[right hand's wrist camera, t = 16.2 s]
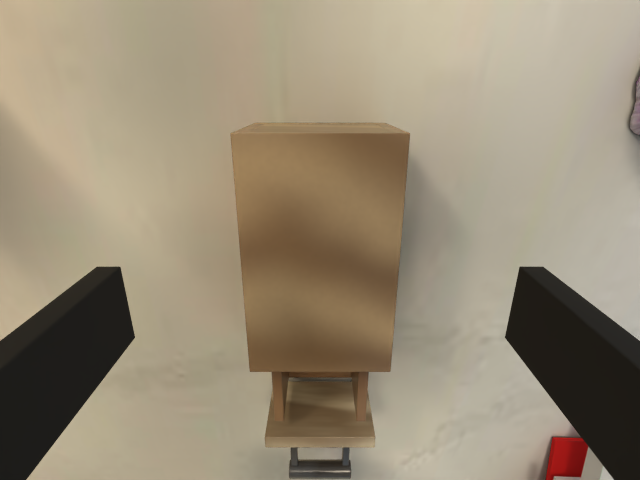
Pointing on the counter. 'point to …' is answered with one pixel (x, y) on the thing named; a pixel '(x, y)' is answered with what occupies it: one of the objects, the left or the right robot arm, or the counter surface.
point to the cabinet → (320, 243)
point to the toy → (574, 461)
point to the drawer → (319, 420)
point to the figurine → (636, 111)
